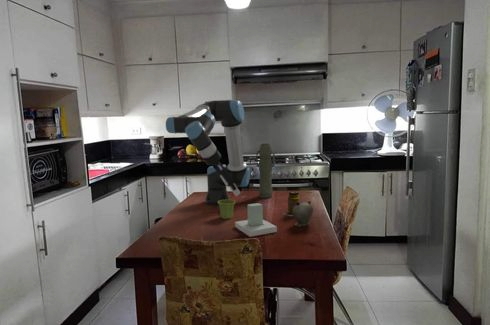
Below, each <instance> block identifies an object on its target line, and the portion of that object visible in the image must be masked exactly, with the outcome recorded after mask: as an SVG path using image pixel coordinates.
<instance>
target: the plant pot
mask: <svg viewBox="0 0 490 325" xmlns="http://www.w3.org/2000/svg"><path fill="white" fill-rule="evenodd" d="M218 203H219V205H218V207H219V213H220V218H221V219H224V220H228V219H232V218H233V216H234V208H235V203H236V200H232V199H229V200H220V201H218Z"/></svg>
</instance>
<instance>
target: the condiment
mask: <svg viewBox="0 0 490 325" xmlns="http://www.w3.org/2000/svg"><path fill="white" fill-rule="evenodd" d="M287 199H288V200H287V211H286V212H282V214H283V215H286V216H289V217H294V216H293V208H294V207H295V206H296V203H297V202H298V203H300V194H299V192H298V191H295V190H293V191H292V190H290V191H289V192H288V197H287Z"/></svg>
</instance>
